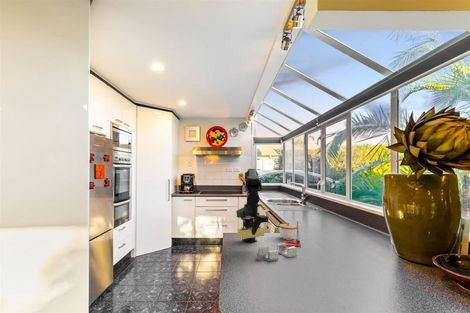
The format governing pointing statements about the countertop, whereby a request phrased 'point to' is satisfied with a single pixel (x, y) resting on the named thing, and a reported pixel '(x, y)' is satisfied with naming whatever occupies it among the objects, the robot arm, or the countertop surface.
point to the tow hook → (296, 240)
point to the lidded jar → (288, 231)
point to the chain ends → (275, 252)
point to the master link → (250, 232)
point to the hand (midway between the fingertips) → (251, 234)
